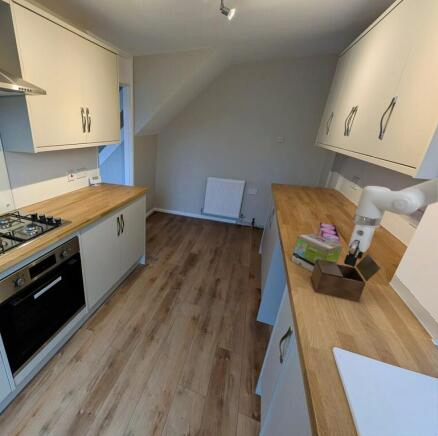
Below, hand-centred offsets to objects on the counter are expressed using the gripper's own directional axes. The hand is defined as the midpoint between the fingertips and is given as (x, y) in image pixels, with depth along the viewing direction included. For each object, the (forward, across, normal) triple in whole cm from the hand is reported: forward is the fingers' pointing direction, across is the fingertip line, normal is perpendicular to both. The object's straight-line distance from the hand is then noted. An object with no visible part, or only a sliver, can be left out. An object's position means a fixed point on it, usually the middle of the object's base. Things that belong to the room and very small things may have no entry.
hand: (352, 261), depth 93 cm
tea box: (+15, +12, +15) cm, 24 cm away
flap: (+1, +2, -4) cm, 5 cm away
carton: (+15, -1, +3) cm, 15 cm away
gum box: (+15, +33, +17) cm, 40 cm away
